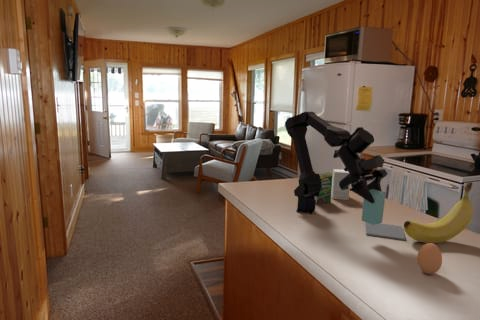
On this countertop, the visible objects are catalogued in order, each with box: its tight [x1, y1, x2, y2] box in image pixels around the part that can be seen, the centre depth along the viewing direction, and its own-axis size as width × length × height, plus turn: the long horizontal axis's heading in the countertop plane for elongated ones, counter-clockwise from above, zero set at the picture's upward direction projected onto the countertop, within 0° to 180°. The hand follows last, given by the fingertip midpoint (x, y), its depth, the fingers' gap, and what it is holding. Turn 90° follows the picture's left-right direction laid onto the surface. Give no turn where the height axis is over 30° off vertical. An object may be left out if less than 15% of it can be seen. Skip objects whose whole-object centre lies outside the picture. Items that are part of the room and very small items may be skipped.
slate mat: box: [365, 222, 407, 241], centre depth 119 cm, size 12×12×1 cm
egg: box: [416, 243, 443, 275], centre depth 90 cm, size 6×6×8 cm
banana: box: [403, 181, 474, 244], centre depth 109 cm, size 23×6×20 cm, turn 97°
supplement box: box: [331, 168, 351, 201], centre depth 157 cm, size 7×7×13 cm
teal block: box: [361, 189, 387, 225], centre depth 109 cm, size 4×4×10 cm
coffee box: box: [314, 172, 333, 205], centre depth 148 cm, size 8×3×13 cm, turn 115°
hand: (377, 201), depth 108 cm, fingers closed on teal block, 4 cm apart
